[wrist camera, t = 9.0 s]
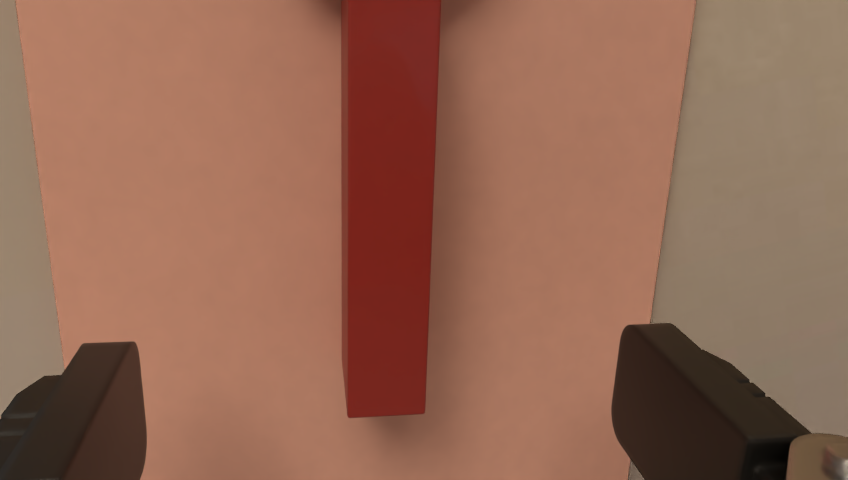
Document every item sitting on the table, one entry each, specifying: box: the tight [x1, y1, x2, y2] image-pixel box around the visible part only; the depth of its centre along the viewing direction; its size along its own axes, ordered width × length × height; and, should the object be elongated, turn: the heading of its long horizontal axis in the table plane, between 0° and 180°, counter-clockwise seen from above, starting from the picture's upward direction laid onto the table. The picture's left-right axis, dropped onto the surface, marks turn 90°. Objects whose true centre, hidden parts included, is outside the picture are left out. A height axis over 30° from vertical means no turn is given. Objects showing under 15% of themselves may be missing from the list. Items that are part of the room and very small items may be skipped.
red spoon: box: [341, 0, 442, 418], centre depth 12 cm, size 11×4×2 cm, turn 178°
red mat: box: [15, 0, 696, 480], centre depth 14 cm, size 13×12×1 cm
